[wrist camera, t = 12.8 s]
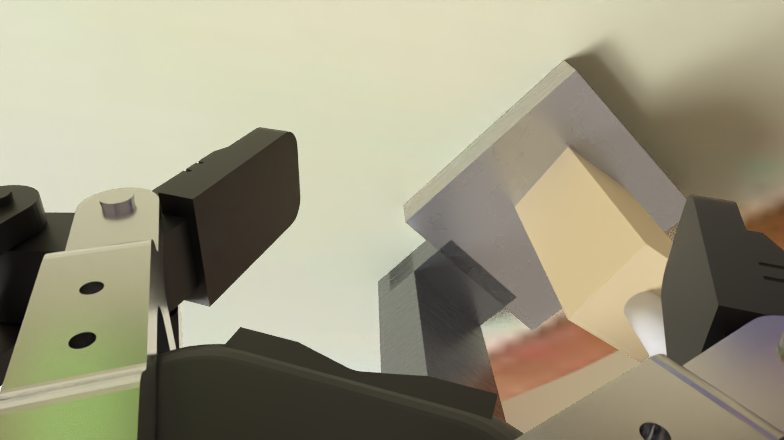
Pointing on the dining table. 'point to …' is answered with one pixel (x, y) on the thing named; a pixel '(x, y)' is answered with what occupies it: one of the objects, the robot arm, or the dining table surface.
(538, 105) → the press frame
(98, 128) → the dining table surface
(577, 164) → the beige tall block
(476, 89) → the dining table surface
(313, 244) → the dining table surface
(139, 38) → the dining table surface
